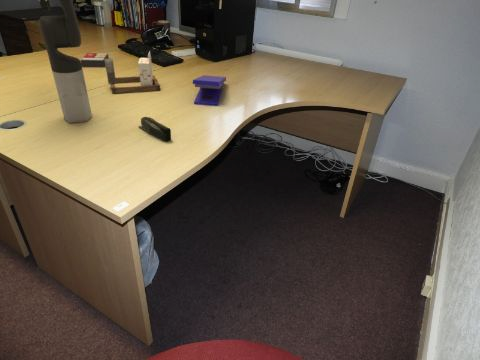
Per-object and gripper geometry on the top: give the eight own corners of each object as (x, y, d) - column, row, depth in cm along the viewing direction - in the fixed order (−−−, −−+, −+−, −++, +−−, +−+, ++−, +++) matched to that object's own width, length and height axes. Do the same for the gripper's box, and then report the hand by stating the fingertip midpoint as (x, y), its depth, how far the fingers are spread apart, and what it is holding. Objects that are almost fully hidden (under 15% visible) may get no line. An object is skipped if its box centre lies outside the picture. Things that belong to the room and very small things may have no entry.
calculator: (108, 52, 179) (103, 59, 167) (109, 61, 181) (104, 67, 169) (86, 52, 177) (80, 58, 165) (87, 60, 179) (81, 67, 167)
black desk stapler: (172, 127, 108) (142, 112, 115) (165, 130, 106) (135, 115, 113) (172, 141, 111) (143, 125, 118) (165, 144, 109) (136, 128, 116)
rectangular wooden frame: (160, 90, 147) (158, 62, 140) (110, 93, 140) (105, 64, 133) (154, 79, 157) (152, 53, 151) (108, 82, 150) (103, 55, 144)
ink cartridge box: (142, 83, 153) (138, 50, 145) (153, 83, 154) (150, 50, 145) (140, 90, 146) (137, 55, 138) (152, 90, 147) (149, 55, 139)
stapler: (192, 104, 137) (192, 81, 131) (202, 82, 160) (202, 61, 154) (220, 107, 137) (220, 83, 131) (225, 84, 160) (226, 63, 154)
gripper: (44, -40, 111) (57, 14, 120) (47, -42, 121) (58, 8, 131) (18, -41, 108) (33, 14, 117) (24, -43, 119) (37, 7, 128)
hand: (46, 10), depth 124 cm, fingers open, 8 cm apart
